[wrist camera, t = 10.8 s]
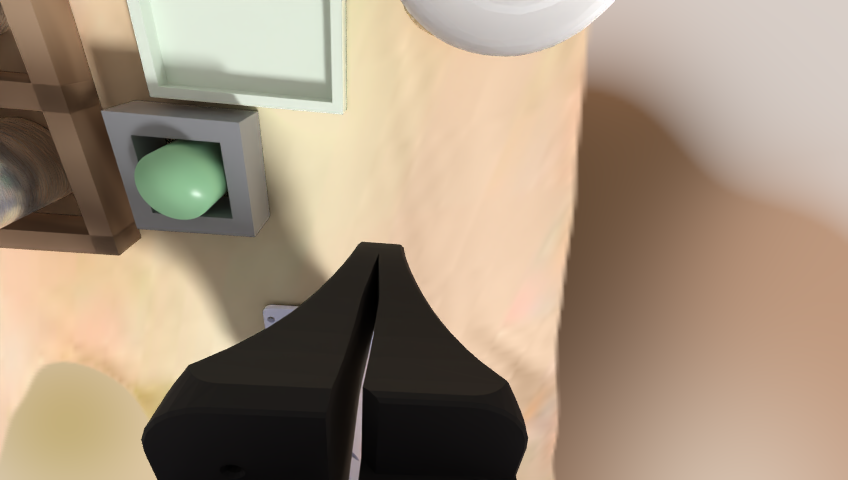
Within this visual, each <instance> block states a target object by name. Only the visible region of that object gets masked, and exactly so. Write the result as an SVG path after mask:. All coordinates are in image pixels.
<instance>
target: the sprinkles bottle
mask: <svg viewBox="0 0 848 480" xmlns="http://www.w3.org/2000/svg"><path fill="white" fill-rule="evenodd" d="M614 1H615V0H401V2H402V3H403V5H404V8H405V11H406V12H407V14H408V15H409V17H410V18H411V19H412V21H413V22H414V23H415V24H416V25H417V26H418V27H419V28H420V29H422V30H424V31H426V32H427V33H429V34H431V35H433V36H435V37H437V38H439V39H440V40H442V41H444V42H445V43H447V44H449V45H452V46H454V47H456V48H459V49H462V50H465V51H468V52H472V53H477V54H482V55H490V56H519V55H525V54H529V53H533V52H537V51H541V50H544V49H547V48H549V47H552V46H555V45H557V44H559V43H561V42H563V41H565V40H567V39H568V38H570V37H572V36H573V35H575V34H577V33H578V32H580V31H582V30H583V29H584V28H585V27H587V26H588V25H589V24H591V23H592V22H593V21H594V20H595V19H596V18H597V17H598V16H600V15H601V14H602V13H603V12H604V11H605V10H606V9H607V8H608V7H609V6H610V5H611V4H612V3H613V2H614Z"/></svg>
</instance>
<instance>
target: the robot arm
mask: <svg viewBox="0 0 848 480" xmlns="http://www.w3.org/2000/svg"><path fill="white" fill-rule="evenodd" d="M270 317H273V318H274V319H272V318H270ZM263 318H264V324H265V329H264V330H263V331H261V332H259V333H257V334H255V335H254V336H252V337H250V338H248V339H246V340H244V341H242V342H240V343H238V344H236V345H234V346H232V347H230V348H228V349H226V350H223V351H221V352H219V353H216V354H214V355H212V356H209V357H207V358H205V359H202V360H200V361H198V362H195V363H193V364H190V365H189V366H188V367H187V368H186V369H185V371H184V372H183V373H182V374H181V376H180V377H179V378H178V379H177V381H176V382H175V383H174V384H173V386H172V387H171V389H170V390H169V391H168V393H167V394H166V396H165V397H164V399H163V401H162V402H161V404H160V405H159V407H158V408H157V410H156V411H155V413H154V414H153V416H152V418H151V419H150V421H149V422H148V424H147V426H146V427H145V428H144V432H143V435H142V439H141V440H142V444H143V449H144V452H145V454H146V456H147V459H148V461H149V463H150V465H151V467H152V469H153V471H154V473H155V476H156V478H157V480H517V479H516V474H517V471H518V468H519V466H520V463H521V461H522V458H523V456H524V453H525V451H526V448H527V442H528V436H527V431H526V426H525V422H524V419H523V416H522V413H521V411H520V408H519V406H518V403H517V401H516V398H515V396H514V394H513V392H512V390H511V387H510V385H509V383H508V382H507V381H506V380H505V379H504V378H502V377H501V376H499V375H498V374H497V373H495V372H494V371H493V370H491V369H490V368H489V367H487V366H486V365H485V364H483V363H482V362H481V361H480V360H478V359H477V358H476V357H475V356H474V355H473V354H471V353H470V352H469V351H468V350H467V349H466V348H465V347H464V346H463V345H462V344H461V343H460V342H459V341H458V340H457V339H456V338H455V337H454V336H453V335H452V334H451V333H450V331H449V330H448V329H447V328H446V327H445V325H444V324H443V323H442V322H441V321H440V319H439V318H438V317H437V315H436V314H435V313H434V311H433V310H432V308H431V307H430V305H429V304H428V302H427V301H426V299H425V297H424V296H423V294H422V292H421V291H420V289H419V287H418V285H417V283H416V281H415V279H414V277H413V275H412V273H411V270H410V268H409V265H408V263H407V260H406V257H405V253H404V248H403V247H402V246H401V245H399V244H385V243H371V242H361V243H360V244H358V246H357V247H356V249H355V250H354V251H353V253H352V254H351V255H350V256H349V258H348V259H347V260H346V261H345V263H344V264H343V265H342V266H341V267H340V268H339V269H338V270H337V272H336V273H335V274H334V275H333V276H332V277H331V278H330V279H329V280H328V281H327V282H326V283H325V284H324V285H323V286H322V287H321V288H320V289H319V290H318V291H317V292H315V293H314V294H313V295H312V296H311V297H310V298H309V299H307V300H306V301H305V302H304V303H302V304H301V305H300V306H285V305H267V306H266V307H265V308H264V310H263Z"/></svg>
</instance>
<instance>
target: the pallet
mask: <svg viewBox="0 0 848 480" xmlns="http://www.w3.org/2000/svg"><path fill="white" fill-rule="evenodd" d="M0 2H1V5H2V7H3V10H4V13H5V15H6V18H7V21H8V23H9V26H10V28H11V31H12V34H13V36H14V39H15V41H16V44H17V47H18V49H19V52H20V55H21V57H22V60H23V62H24V65H25V68H26V70H27V73H28V74H26V73H16V72H5V71H0V108H10V109H22V110H33V111H42V112H43V115H44V117H45V120H46V123H47V125H48V128H49V130H50V133H51V136H52V138H53V141H54V143H55V146H56V149H57V151H58V154H59V157H60V159H61V162H62V164H63V167H64V170H65V172H66V175H67V177H68V180H69V183H70V185H71V188H72V191H73V193H74V196H75V198H76V201H77V204H78V206H79V209H80V211H81V214H82V216H73V215H59V214H45V213H31V214H29V215H27V216H25V217H23V218H21V219H19V220H17V221H14V222H12V223H10V224H8V225H6V226H4V227H2V228H0V248H13V249H28V250H44V251H59V252H75V253H90V254H106V255H120V254H122V253H123V252H124V251H125V250H127V249H128V248H129V247H130V246H132V245H133V244H134V243H135V242H137V241H138V240H139V239H140V238H141V235H140V232H139V229H137V226H136V223H135V220H134V217H133V213H132V210H131V207H130V204H129V200H128V197H127V194H126V191H125V187H124V184H123V181H122V178H121V175H120V171H119V168H118V165H117V162H116V158H115V155H114V152H113V149H112V145H111V142H110V139H109V136H108V133H107V129H106V126H105V123H104V120H103V116H102V113H101V110H102V108H101V105H100V102H99V99H98V95H97V92H96V89H95V86H94V82H93V79H92V76H91V73H90V69H89V66H88V63H87V60H86V56H85V53H84V50H83V47H82V43H81V40H80V37H79V34H78V30H77V27H76V24H75V21H74V17H73V14H72V11H71V8H70V4H69V1H68V0H0Z"/></svg>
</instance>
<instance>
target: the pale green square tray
mask: <svg viewBox="0 0 848 480" xmlns="http://www.w3.org/2000/svg"><path fill="white" fill-rule="evenodd" d="M127 4H128V8H129V12H130V16H131V21H132V25H133V29H134V33H135V37H136V41H137V45H138V49H139V53H140V57H141V62H142V66H143V70H144V74H145V78H146V82H147V86H148V90H149V94H150V97H157V98H168V99H179V100H190V101H201V102H212V103H223V104H234V105H245V106H256V107H267V108H278V109H289V110H300V111H311V112H322V113H333V114H344V112H345V111H346V110H347V61H346V0H127Z"/></svg>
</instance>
